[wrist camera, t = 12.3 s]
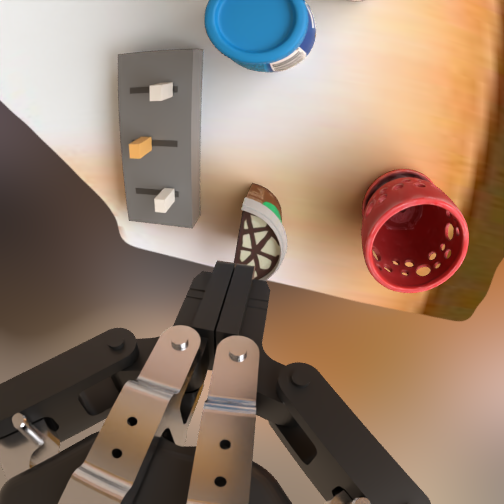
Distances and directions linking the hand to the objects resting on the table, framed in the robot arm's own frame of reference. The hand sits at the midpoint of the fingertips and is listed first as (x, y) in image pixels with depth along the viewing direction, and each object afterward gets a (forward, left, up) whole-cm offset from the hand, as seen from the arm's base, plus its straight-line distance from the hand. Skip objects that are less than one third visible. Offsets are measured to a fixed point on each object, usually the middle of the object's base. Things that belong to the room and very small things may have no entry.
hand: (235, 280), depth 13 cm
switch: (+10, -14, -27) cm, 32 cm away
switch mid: (+3, -16, -27) cm, 32 cm away
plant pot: (+9, +17, -32) cm, 37 cm away
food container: (+14, -1, -32) cm, 34 cm away
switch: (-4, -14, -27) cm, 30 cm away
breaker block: (+3, -16, -31) cm, 35 cm away
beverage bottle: (-11, -2, -32) cm, 34 cm away
